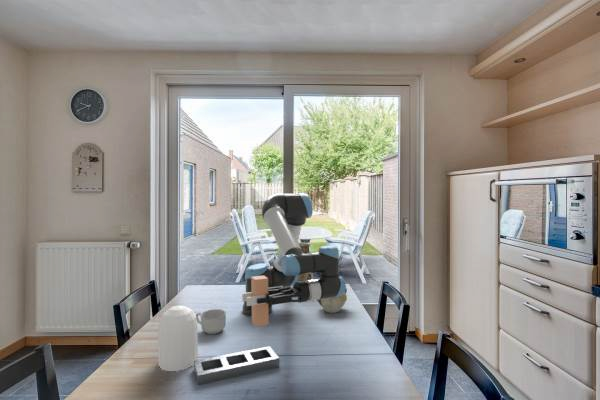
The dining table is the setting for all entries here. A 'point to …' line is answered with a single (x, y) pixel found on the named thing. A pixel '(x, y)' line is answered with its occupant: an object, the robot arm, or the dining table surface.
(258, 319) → the post
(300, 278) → the vase
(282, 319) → the dining table surface
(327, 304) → the sugar bowl
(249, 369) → the rail
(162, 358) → the container
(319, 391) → the dining table surface
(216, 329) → the teacup
